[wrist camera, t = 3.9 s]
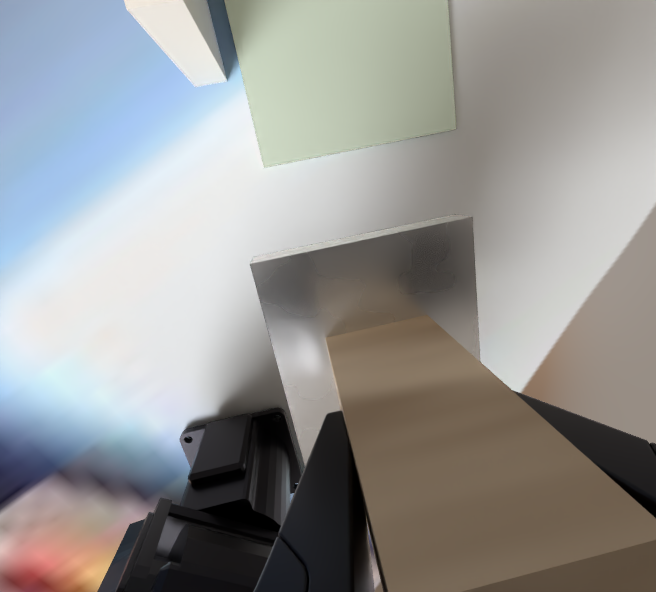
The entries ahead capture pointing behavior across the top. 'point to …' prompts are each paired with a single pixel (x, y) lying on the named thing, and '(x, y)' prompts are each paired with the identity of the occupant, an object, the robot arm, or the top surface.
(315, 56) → the mat
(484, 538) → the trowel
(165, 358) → the top surface
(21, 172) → the top surface
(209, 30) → the tile
